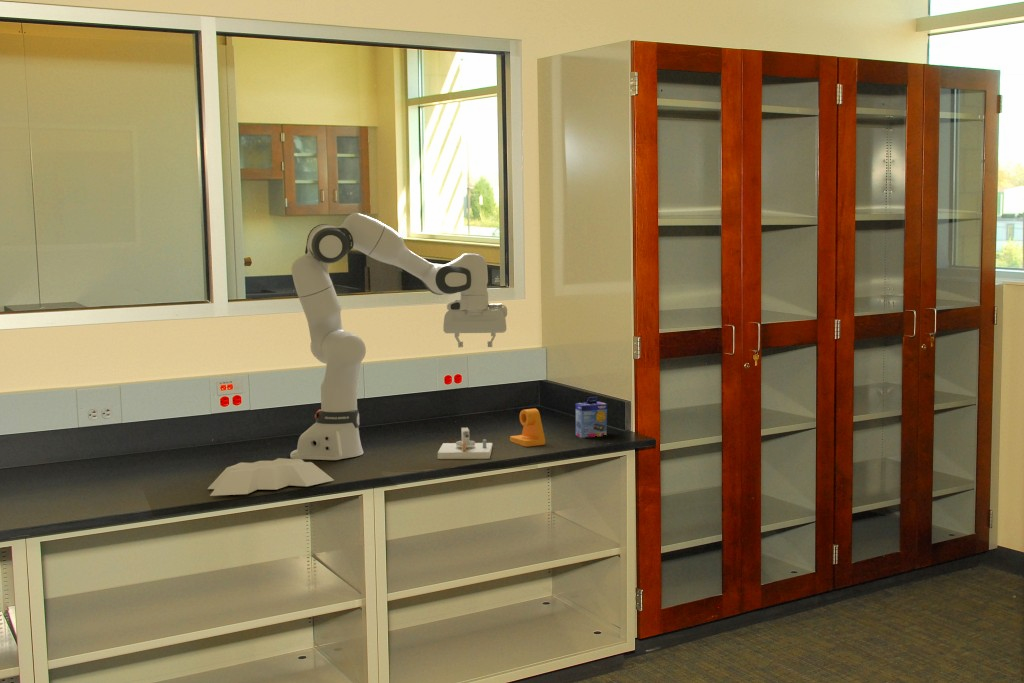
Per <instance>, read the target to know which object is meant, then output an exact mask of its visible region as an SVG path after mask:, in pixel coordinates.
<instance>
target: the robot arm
mask: <svg viewBox="0 0 1024 683" xmlns="http://www.w3.org/2000/svg"><path fill="white" fill-rule="evenodd" d="M353 249H354V250H357V251H359V252H361V253H363V254H364V255H366V256H367V257H370V258H372V259H373V260H375V261H378V262H381V263H384V264H387V265H391V266H394V267H398V268H400V269H402V270H404V271H405V272H407V273H409V274H410V275H412V276H414V277H416V278H417V279H418V280H419V281H420V282H421V283H423V285H424V286H425V288H426V289H427V290H428V291H429V292H430V293H431V294H433V295H436V296H438V295H439V296H442V295H447V296H448V295H450V296H451V295H455V294H457V293H460V299H456V300H454V301H452V302H449V303H447V305H446V310H447V311H446V312H445V315H444V318H443V326H442V327H443V330H442V331H443V332H444V333H445V334H454V338H455V340H456V341H457V348H464V341H461V340H460V338H459V337H460V334H490V336H491V339H490V340H488V341H487V348H493V341H494V340H495V338H496V336H497V334H499V333H500V334H503V333H505V332H507V320H506V317H507V316H508V308H507V307H506V305H504V304H502V303H489V291H488V283H489V276H488V275H489V274H488V273H489V272H488V264H487V259H486V258H485V257H484V256H483V255H481V254H477V253H469V252H464V253H462V254H461V255H460V256H459V257H457V258H456V259H453V260H452V261H450V262H447V263H445V264H444V263H434V262H430V261H428V260H426V259H425V258H423V257H421V256H419V255H418V254H416V253H414V252H413V251H411V250H410V249H409V248H408V247H407V245H406V243H405V240H404V238H403V236H402V235H401V234H400V233H399V232H398V231H396V230H395V229H394V228H392V227H390V226H388V225H387V224H385V223H384V222H382V221H379V220H378V219H376V218H373V217H371V216H368V215H367V214H362V213H359V212H354V213H351V214H350V215H348V216H347V217H346V218H345V219H344V221H343V222H342V223H341V225H340V226H334V225H331V224H329V223H323V224H322V223H321V224H318V225H315V226H314V227H313V228H312V229H311V230H310V232H309V233H308V235H307V239H306V245H305V250H304V253H305V254H304V255H302V256H300V257H298V258H297V259H295V260H294V261H293V263H292V264H291V275H292V279H293V284H294V288H295V290H296V295H297V297H298V299H299V302H300V305H301V307H302V309H303V312H304V315H305V318H306V320H307V327H308V331H309V336H310V352H311V353H312V355H313V356H314V358H315V359H317V360H318V361H319V362H321V363H322V364H325V366H326V367H325V373H324V378H323V381H322V383H321V386H320V398H321V399H320V401H321V403H320V406H321V407H320V408H321V409H318V410H317V411H316V412H315V414H314V420H315V423H313V424H312V425H311V426H310V427H308V429H307V430H305V431H304V432H303V433H302V434H300V436H299V438H298V440H297V446H296V447H297V448H296V449H295V450H293V451H291V452H290V455H289V457H290V459H302V460H316V461H317V460H322V461H339V460H342V459H349V458H354V457H355V458H356V457H359V456H362V455H364V449H363V447H362V442H361V437H360V430H359V427H360V413H359V409H358V392H357V388H358V379H359V378H358V377H359V373H360V370H361V369H360V368H361V364H362V361H363V360H364V358H365V356H366V353H367V352H366V351H367V349H366V344H365V342H364V341H363V339H362V338H360V336H358V335H356V334H355V333H353V332H350V331H345V330H344V327H343V324H342V316H341V313H342V306H341V303H340V300H339V298H338V294H337V292H336V289H335V286H334V283H333V281H332V279H331V277H330V273H329V265H330V264H334V263H338V262H340V261H341V260H342V259H343V258H344V257H346V255H347V254H348V253H349V252H350V251H351V250H353Z"/></svg>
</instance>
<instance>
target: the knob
mask: <svg viewBox="0 0 1024 683" xmlns="http://www.w3.org/2000/svg"><path fill="white" fill-rule="evenodd" d="M460 429H461V432H460V433H461V440H458V441H455V443H456V447H457V448H462V443H466V448H474V447H475V443H476V441H475V440H470V438H471V437H470V435H471V434H470V429H469V427H460Z"/></svg>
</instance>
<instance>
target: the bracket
mask: <svg viewBox="0 0 1024 683" xmlns="http://www.w3.org/2000/svg"><path fill="white" fill-rule="evenodd" d="M518 416H519V422H520V424H521V425H522V426H523V428H522V432H521V434H519V435H511V436H509V441H510V442H512V443H514V444H516V445H518V446H519V445H520V446H522V447H535V446H544V445H546V438H545V432H544V428H543V424H542V418H541V414H540V411H539V410H538V409H537V408H527V409H522V410H521V411H520V413H519V415H518Z"/></svg>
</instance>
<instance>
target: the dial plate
mask: <svg viewBox="0 0 1024 683" xmlns="http://www.w3.org/2000/svg"><path fill="white" fill-rule="evenodd" d="M492 449H493V442H487V439H485V438H484V439H482V442H475V447H474V448H466V443H462V448H457V447H456V442H452V443H450V442H446V443H445V442H443V443H442V445H440V448H439V450H437V460H475V459H477V460H485V459H487V460H489V459H490V458H491V453H492Z"/></svg>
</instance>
